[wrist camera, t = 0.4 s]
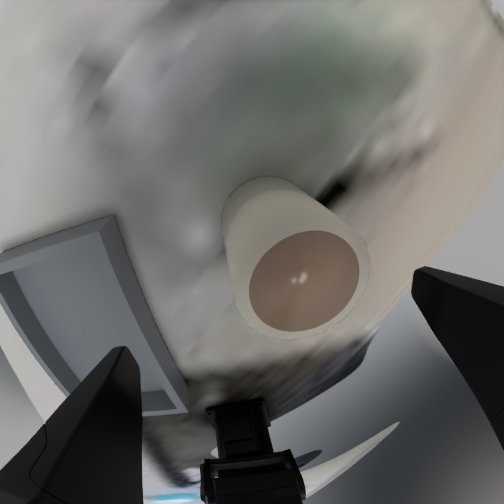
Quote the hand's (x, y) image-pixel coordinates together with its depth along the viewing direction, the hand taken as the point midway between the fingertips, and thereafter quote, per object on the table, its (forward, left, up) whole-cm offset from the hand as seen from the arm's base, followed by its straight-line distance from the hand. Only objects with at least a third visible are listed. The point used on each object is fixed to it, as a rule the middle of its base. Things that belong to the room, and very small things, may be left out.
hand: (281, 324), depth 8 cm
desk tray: (-7, +14, -11) cm, 19 cm away
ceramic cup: (-1, -2, -11) cm, 12 cm away
